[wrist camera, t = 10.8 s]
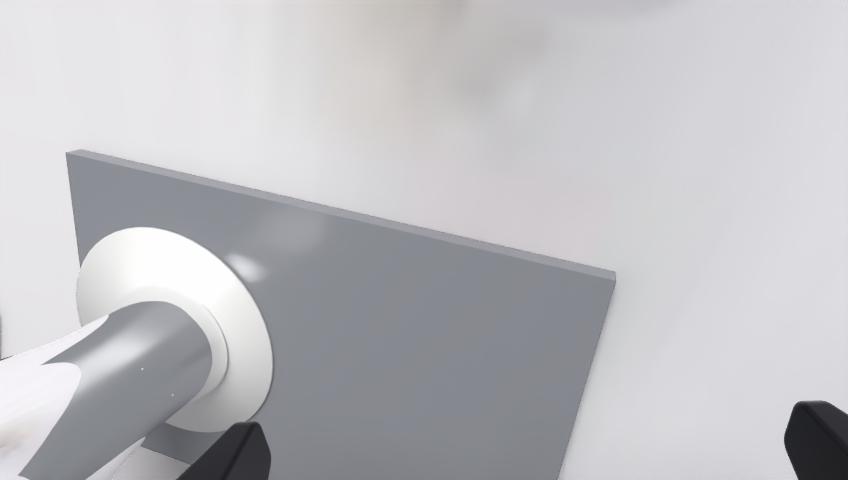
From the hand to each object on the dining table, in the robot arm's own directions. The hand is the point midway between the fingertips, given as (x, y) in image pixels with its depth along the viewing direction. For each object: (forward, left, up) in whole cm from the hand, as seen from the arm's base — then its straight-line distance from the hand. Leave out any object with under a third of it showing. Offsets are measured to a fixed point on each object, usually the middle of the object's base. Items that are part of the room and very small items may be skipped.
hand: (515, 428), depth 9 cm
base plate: (+3, +13, -12) cm, 18 cm away
